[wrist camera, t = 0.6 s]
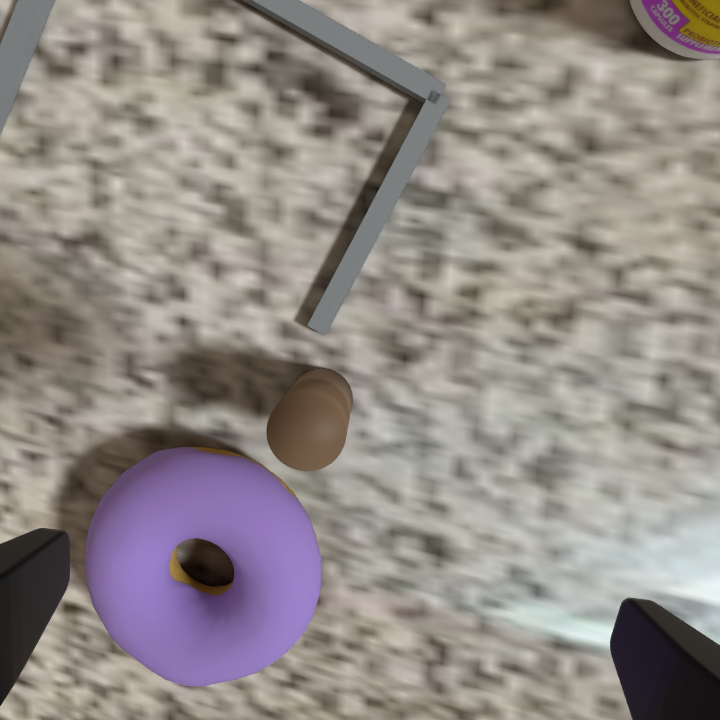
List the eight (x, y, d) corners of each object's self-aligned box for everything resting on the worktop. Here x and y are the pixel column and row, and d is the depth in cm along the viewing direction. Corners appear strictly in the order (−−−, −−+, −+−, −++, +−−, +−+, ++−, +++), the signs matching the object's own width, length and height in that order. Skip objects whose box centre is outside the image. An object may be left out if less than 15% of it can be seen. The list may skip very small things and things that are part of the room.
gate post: (334, 439, 23) (322, 484, 18) (280, 410, 23) (253, 447, 18) (363, 386, 22) (360, 417, 17) (308, 356, 22) (289, 379, 17)
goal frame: (326, 333, 22) (324, 335, 21) (-26, 143, 21) (-38, 139, 21) (453, 95, 20) (455, 89, 20) (78, -119, 20) (69, -131, 19)
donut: (369, 600, 24) (341, 690, 19) (201, 644, 26) (141, 733, 22) (268, 397, 22) (212, 441, 18) (102, 466, 25) (17, 520, 20)
